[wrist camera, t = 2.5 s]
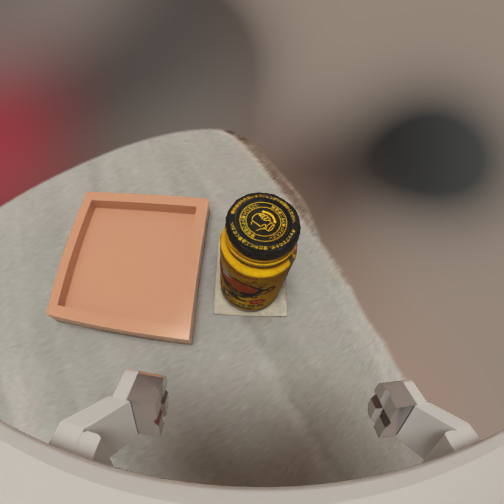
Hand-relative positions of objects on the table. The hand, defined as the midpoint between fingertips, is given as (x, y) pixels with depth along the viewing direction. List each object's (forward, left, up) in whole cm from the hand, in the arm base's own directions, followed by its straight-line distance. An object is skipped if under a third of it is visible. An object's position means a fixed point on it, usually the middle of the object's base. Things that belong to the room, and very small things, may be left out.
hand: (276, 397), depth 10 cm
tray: (+12, +13, -17) cm, 25 cm away
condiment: (+12, 0, -18) cm, 21 cm away
